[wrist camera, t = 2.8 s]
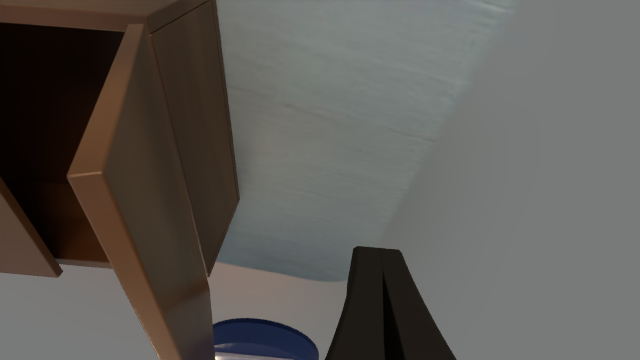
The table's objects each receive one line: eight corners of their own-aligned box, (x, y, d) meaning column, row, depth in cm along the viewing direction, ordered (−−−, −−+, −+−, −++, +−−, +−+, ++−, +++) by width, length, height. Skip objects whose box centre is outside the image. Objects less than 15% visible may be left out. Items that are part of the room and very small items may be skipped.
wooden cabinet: (213, -17, 14) (132, 22, 9) (240, 199, 22) (203, 292, 16) (-110, -40, 15) (-379, -16, 9) (24, 180, 22) (-81, 266, 17)
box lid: (127, 23, 9) (144, 23, 9) (200, 290, 16) (209, 288, 16) (64, 176, 4) (103, 171, 4) (211, 464, 11) (224, 459, 11)
